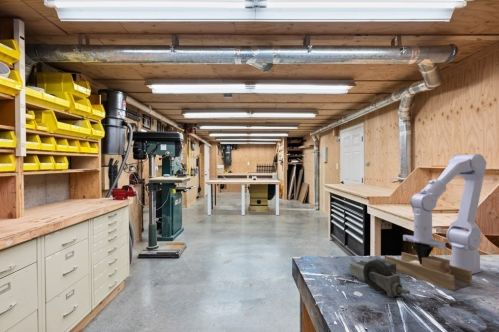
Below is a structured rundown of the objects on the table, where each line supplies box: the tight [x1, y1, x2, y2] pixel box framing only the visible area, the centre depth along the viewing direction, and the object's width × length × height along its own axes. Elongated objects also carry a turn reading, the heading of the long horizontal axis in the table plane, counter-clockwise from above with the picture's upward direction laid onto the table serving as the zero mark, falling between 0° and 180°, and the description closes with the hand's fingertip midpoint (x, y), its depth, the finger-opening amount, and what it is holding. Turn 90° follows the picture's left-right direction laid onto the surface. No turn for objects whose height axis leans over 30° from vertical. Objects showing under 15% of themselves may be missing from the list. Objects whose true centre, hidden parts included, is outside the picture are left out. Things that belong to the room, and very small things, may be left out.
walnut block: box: [422, 255, 451, 273], centre depth 103 cm, size 6×6×4 cm
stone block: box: [349, 257, 397, 284], centre depth 106 cm, size 9×14×5 cm, turn 111°
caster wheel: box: [363, 259, 410, 298], centre depth 92 cm, size 6×10×15 cm
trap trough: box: [384, 252, 473, 292], centre depth 107 cm, size 11×25×4 cm, turn 27°
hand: (423, 264), depth 107 cm, fingers closed
